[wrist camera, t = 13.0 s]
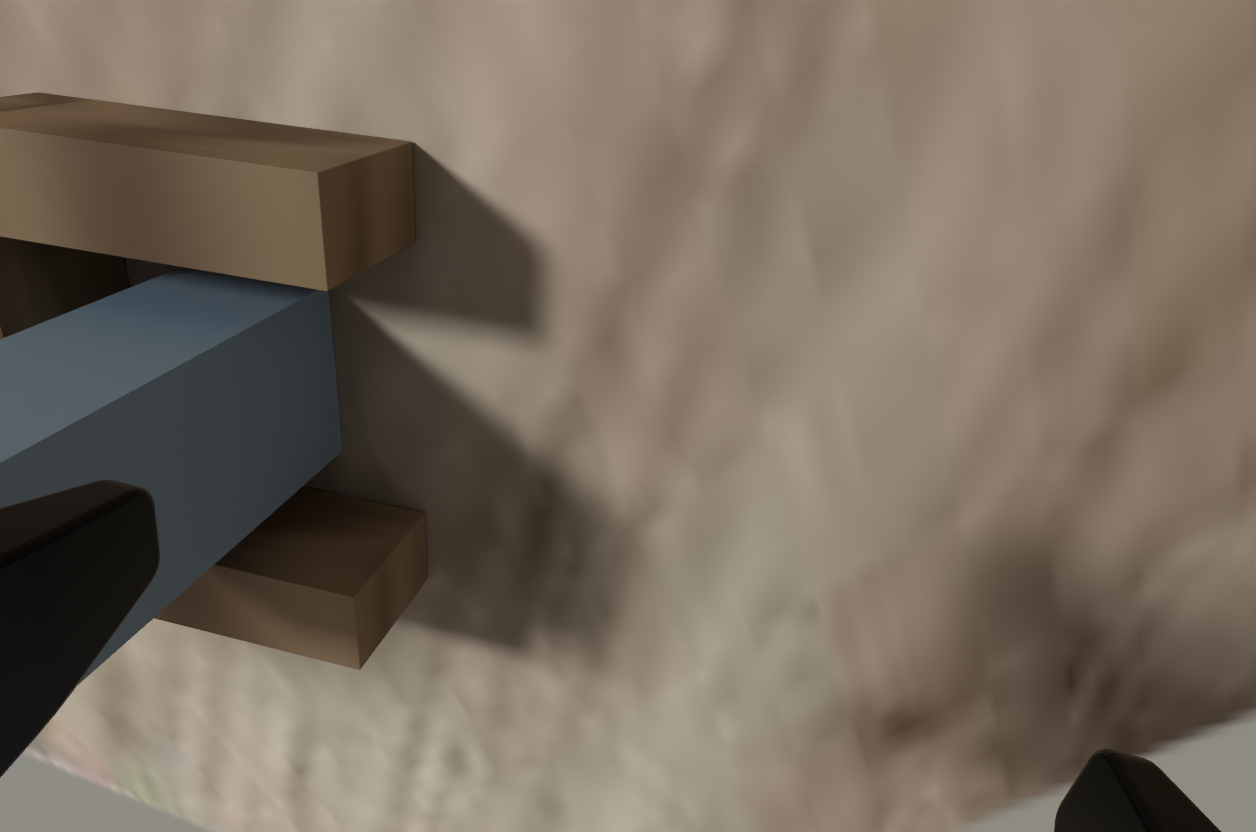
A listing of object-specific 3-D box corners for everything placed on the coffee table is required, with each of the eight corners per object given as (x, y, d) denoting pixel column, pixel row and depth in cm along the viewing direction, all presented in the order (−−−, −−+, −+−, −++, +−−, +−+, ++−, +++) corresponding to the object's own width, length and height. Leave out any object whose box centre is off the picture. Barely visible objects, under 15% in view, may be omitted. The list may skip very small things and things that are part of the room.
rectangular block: (328, 284, 22) (-17, 471, 13) (342, 450, 24) (56, 703, 16) (192, 262, 23) (-218, 426, 14) (219, 426, 25) (-121, 654, 16)
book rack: (412, 141, 20) (317, 172, 16) (427, 578, 26) (360, 669, 22) (38, 92, 22) (-120, 110, 18) (132, 511, 28) (27, 586, 24)
